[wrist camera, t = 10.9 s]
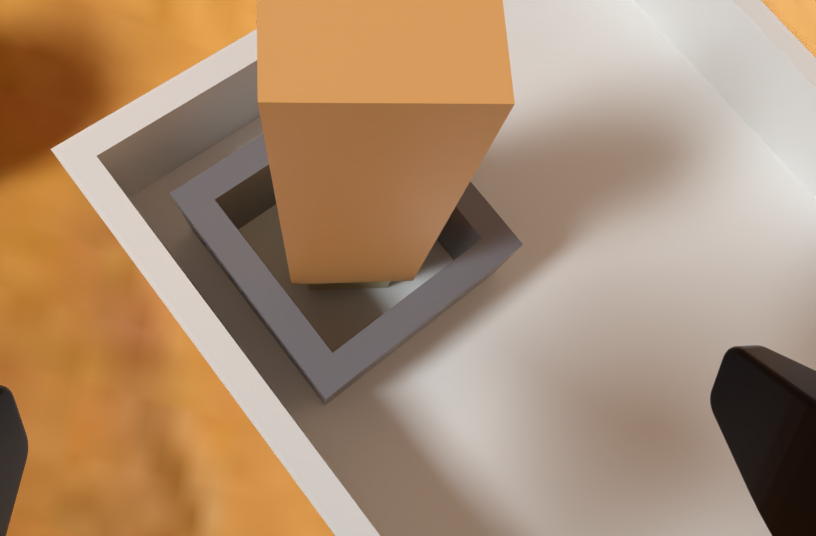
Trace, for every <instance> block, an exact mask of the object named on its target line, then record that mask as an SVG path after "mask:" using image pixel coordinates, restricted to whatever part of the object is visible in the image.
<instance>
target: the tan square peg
mask: <svg viewBox="0 0 816 536" xmlns="http://www.w3.org/2000/svg"><path fill="white" fill-rule="evenodd" d="M257 97H258V108H259V113H260V118H261V124H262V129H263V134H264V140H265V145H266V150H267V156H268V161H269V166H270V172H271V177H272V183H273V188H274V193H275V199H276V204H277V209H278V215H279V220H280V225H281V231H282V236H283V241H284V247H285V252H286V258H287V263H288V268H289V274H290V279H291V284H292V285H293V284H308V290H333V289H362V288H388V286H389V284H390V282H391V281H413V280H414V278H415V276H416V274H417V273H418V271H419V269H420V267H421V266H422V264H423V262H424V261H425V259H426V257H427V255H428V254H429V252H430V250H431V248H432V247H433V245H434V243H435V241H436V240H437V238H438V236H439V235H440V233H441V231H442V229H443V228H444V226H445V224H446V222H447V221H448V219H449V217H450V215H451V214H452V212H453V210H454V209H455V207H456V205H457V203H458V202H459V200H460V198H461V196H462V195H463V193H464V191H465V189H466V188H467V186H468V184H469V183H470V181H471V179H472V177H473V176H474V174H475V172H476V170H477V169H478V167H479V165H480V163H481V162H482V160H483V158H484V157H485V155H486V153H487V151H488V150H489V148H490V146H491V144H492V143H493V141H494V139H495V137H496V136H497V134H498V132H499V131H500V129H501V127H502V125H503V124H504V122H505V120H506V118H507V117H508V115H509V113H510V111H511V110H512V108H513V106H514V105H515V101H514V93H513V84H512V76H511V67H510V58H509V50H508V41H507V33H506V24H505V16H504V7H503V0H257Z"/></svg>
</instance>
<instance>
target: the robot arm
mask: <svg viewBox="0 0 816 536" xmlns="http://www.w3.org/2000/svg"><path fill="white" fill-rule="evenodd" d="M710 405H711V409H712V412H713V414H714V417H715V419H716V421H717V423H718V425H719V428H720V430H721V432H722V434H723V436H724V438H725V441H726V443H727V445H728V447H729V449H730V452H731V454H732V456H733V458H734V460H735V462H736V465H737V467H738V469H739V471H740V473H741V476H742V478H743V480H744V482H745V484H746V487H747V489H748V491H749V493H750V495H751V497H752V499H753V501H754V503H755V505H756V507H757V509H758V512H759V513H760V515H761V517H762V519H763V521H764V523H765V524H766V526H767V528H768V530H769V532H770V533H771V535H772V536H816V370H813V369H811V368H809V367H807V366H805V365H803V364H801V363H798V362H796V361H794V360H792V359H790V358H788V357H786V356H783V355H781V354H779V353H777V352H775V351H773V350H771V349H768V348H766V347H764V346H760V345H747V346H734V347H731V348H729V349H728V350H727V351H726V352H725V354H724V356H723V359H722V362H721V365H720V368H719V370H718V373H717V376H716V379H715V382H714V384H713V387H712V390H711V394H710ZM27 454H28V440H27V435H26V432H25V429H24V426H23V423H22V420H21V417H20V414H19V411H18V408H17V405H16V402H15V399H14V397H13V394H12V392H11V391H10V390H9V389H8V388H7V387H5V386H2V385H0V536H6V533H7V530H8V526H9V522H10V519H11V515H12V511H13V507H14V504H15V500H16V496H17V493H18V489H19V485H20V482H21V478H22V474H23V471H24V467H25V463H26V460H27Z"/></svg>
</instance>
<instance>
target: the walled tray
mask: <svg viewBox="0 0 816 536" xmlns="http://www.w3.org/2000/svg"><path fill="white" fill-rule="evenodd" d="M503 7H504V16H505V24H506V33H507V41H508V50H509V58H510V67H511V76H512V84H513V93H514V101H515V105H514V106H513V108H512V110H511V111H510V113H509V115H508V117H507V118H506V120H505V122H504V124H503V125H502V127H501V129H500V131H499V132H498V134H497V136H496V137H495V139H494V141H493V143H492V144H491V146H490V148H489V150H488V151H487V153H486V155H485V157H484V158H483V160H482V162H481V163H480V165H479V167H478V169H477V170H476V172H475V174H474V176H473V177H472V179H471V181H470V183H469V184H468V186H467V188H466V189H465V191H464V193H463V195H462V196H461V198H460V200H459V202H458V203H457V205H456V207H455V209H454V210H453V212H452V214H451V215H450V217H449V219H448V221H447V222H446V224H445V226H444V228H443V229H442V231H441V233H440V235H439V236H438V238H437V240H436V241H435V243H434V245H433V247H432V248H431V250H430V252H429V254H428V255H427V257H426V259H425V261H424V262H423V264H422V266H421V267H420V269H419V271H418V273H417V274H416V276H415V278H414V280H413V281H391V282H390V284H389V286H388V288H362V289H333V290H308V284H293V285H292V284H291V279H290V274H289V268H288V263H287V258H286V252H285V247H284V241H283V236H282V231H281V225H280V220H279V215H278V209H277V204H276V199H275V193H274V188H273V183H272V177H271V172H270V166H269V161H268V156H267V150H266V145H265V140H264V134H263V129H262V124H261V118H260V113H259V108H258V97H257V29H256V30H254V31H253V32H251V33H249V34H247V35H246V36H244V37H242V38H241V39H239V40H237V41H235V42H234V43H232V44H230V45H228V46H227V47H225V48H223V49H222V50H220V51H218V52H216V53H215V54H213V55H211V56H210V57H208V58H206V59H204V60H203V61H201V62H199V63H198V64H196V65H194V66H192V67H191V68H189V69H187V70H186V71H184V72H182V73H180V74H179V75H177V76H175V77H173V78H172V79H170V80H168V81H167V82H165V83H163V84H161V85H160V86H158V87H156V88H155V89H153V90H151V91H149V92H148V93H146V94H144V95H143V96H141V97H139V98H137V99H136V100H134V101H132V102H130V103H129V104H127V105H125V106H124V107H122V108H120V109H118V110H117V111H115V112H113V113H112V114H110V115H108V116H106V117H105V118H103V119H101V120H100V121H98V122H96V123H94V124H93V125H91V126H89V127H87V128H86V129H84V130H82V131H81V132H79V133H77V134H75V135H74V136H72V137H70V138H69V139H67V140H65V141H63V142H62V143H60V144H58V145H57V146H55V147H53V148H51V151H52V152H53V153H54V155H55V156H56V157H57V159H58V160H59V161H60V163H61V164H62V165H63V167H64V168H65V170H66V171H67V172H68V174H69V175H70V176H71V178H72V179H73V180H74V182H75V183H76V184H77V186H78V187H79V189H80V190H81V191H82V193H83V194H84V195H85V197H86V198H87V199H88V201H89V202H90V203H91V205H92V206H93V208H94V209H95V210H96V212H97V213H98V214H99V216H100V217H101V218H102V220H103V221H104V222H105V224H106V225H107V227H108V228H109V229H110V231H111V232H112V233H113V235H114V236H115V237H116V239H117V240H118V241H119V243H120V244H121V246H122V247H123V248H124V250H125V251H126V252H127V254H128V255H129V256H130V258H131V259H132V260H133V262H134V263H135V265H136V266H137V267H138V269H139V270H140V271H141V273H142V274H143V275H144V277H145V278H146V279H147V281H148V282H149V283H150V285H151V286H152V288H153V289H154V290H155V292H156V293H157V294H158V296H159V297H160V298H161V300H162V301H163V302H164V304H165V305H166V307H167V308H168V309H169V311H170V312H171V313H172V315H173V316H174V317H175V319H176V320H177V321H178V323H179V324H180V326H181V327H182V328H183V330H184V331H185V332H186V334H187V335H188V336H189V338H190V339H191V340H192V342H193V343H194V345H195V346H196V347H197V349H198V350H199V351H200V353H201V354H202V355H203V357H204V358H205V359H206V361H207V362H208V364H209V365H210V366H211V368H212V369H213V370H214V372H215V373H216V374H217V376H218V377H219V378H220V380H221V381H222V383H223V384H224V385H225V387H226V388H227V389H228V391H229V392H230V393H231V395H232V396H233V397H234V399H235V400H236V402H237V403H238V404H239V406H240V407H241V408H242V410H243V411H244V412H245V414H246V415H247V416H248V418H249V419H250V421H251V422H252V423H253V425H254V426H255V427H256V429H257V430H258V431H259V433H260V434H261V435H262V437H263V438H264V440H265V441H266V442H267V444H268V445H269V446H270V448H271V449H272V450H273V452H274V453H275V454H276V456H277V457H278V459H279V460H280V461H281V463H282V464H283V465H284V467H285V468H286V469H287V471H288V472H289V473H290V475H291V476H292V478H293V479H294V480H295V482H296V483H297V484H298V486H299V487H300V488H301V490H302V491H303V492H304V494H305V495H306V497H307V498H308V499H309V501H310V502H311V503H312V505H313V506H314V507H315V509H316V510H317V511H318V513H319V514H320V516H321V517H322V518H323V520H324V521H325V522H326V524H327V525H328V526H329V528H330V529H331V530H332V532H333V533H334V535H335V536H772V535H771V533H770V532H769V530H768V528H767V526H766V524H765V523H764V521H763V519H762V517H761V515H760V513H759V512H758V509H757V507H756V505H755V503H754V501H753V499H752V497H751V495H750V493H749V491H748V489H747V487H746V484H745V482H744V480H743V478H742V476H741V473H740V471H739V469H738V467H737V465H736V462H735V460H734V458H733V456H732V454H731V452H730V449H729V447H728V445H727V443H726V441H725V438H724V436H723V434H722V432H721V430H720V428H719V425H718V423H717V421H716V419H715V417H714V414H713V412H712V409H711V405H710V394H711V390H712V387H713V384H714V382H715V379H716V376H717V373H718V370H719V368H720V365H721V362H722V359H723V356H724V354H725V352H726V351H727V350H728V349H729V348H731V347H734V346H747V345H760V346H764V347H766V348H768V349H771V350H773V351H775V352H777V353H779V354H781V355H783V356H786V357H788V358H790V359H792V360H794V361H796V362H798V363H801V364H803V365H805V366H807V367H809V368H811V369H813V370H816V58H815V57H814V56H813V55H812V54H811V53H810V52H809V51H808V49H807V48H806V47H805V46H804V45H803V44H802V43H801V42H800V41H799V40H798V39H797V38H796V37H795V36H794V35H793V34H792V33H791V32H790V31H789V29H788V28H787V27H786V26H785V25H784V24H783V23H782V22H781V21H780V20H779V19H778V18H777V17H776V16H775V15H774V14H773V13H772V12H771V11H770V10H769V8H768V7H767V6H766V5H765V4H764V3H763V2H762V1H761V0H503Z"/></svg>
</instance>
